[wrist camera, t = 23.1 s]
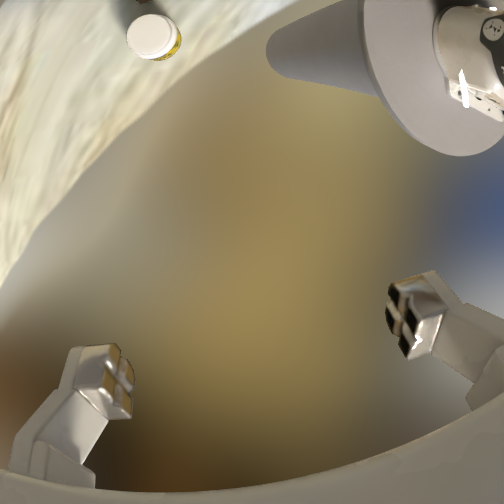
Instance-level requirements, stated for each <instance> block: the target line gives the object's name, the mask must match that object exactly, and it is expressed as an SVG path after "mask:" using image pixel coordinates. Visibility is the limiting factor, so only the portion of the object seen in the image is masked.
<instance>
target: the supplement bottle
mask: <svg viewBox="0 0 504 504" xmlns="http://www.w3.org/2000/svg"><path fill="white" fill-rule="evenodd" d="M126 40H127V44H128V46H129V47H130V49H131V51H132V52H133V53H134V54H135V55H136V56H138V57H140V58H143V59H148V60H154V61H161V60H165V59H168V58H170V57H171V56H173V55H174V54H175V53H176V52H177V50H178V49H179V47H180V45H181V34H180V32H179V30H178V28H177V27H176V25H175V24H174V22H173V21H172V20H171V19H169V18H168V17H166V16H163V15H158V14H147V15H143V16H141V17H139V18H137V19H136V20H134V21H133V22H132V23H131V25H130V26H129V28H128V30H127V34H126Z"/></svg>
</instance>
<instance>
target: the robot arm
mask: <svg viewBox="0 0 504 504" xmlns="http://www.w3.org/2000/svg"><path fill="white" fill-rule="evenodd" d="M433 45H434V51H435V55H436V58H437V61H438V63H439V65H440V68H441V70H442V72H443V75H444V80H445V88H446V92H447V95H448V96H449V97H451V98H453V99H455V100H457V101H459V102H461V103H464V106H465V107H469V106H470V107H472V108H474V109H476V110H478V111H480V112H482V113H484V114H485V115H487V116H489V117H491V118H493V119H495V120H497V121H500V122H503V121H504V11H502V10H496V8H494V7H490V9H489V8H483V7H482V6H481V5H480V4H476V3H472V4H469V5H467V6H459V5H451V6H448V7H445V8H444V9H443V10H441V11H440V13H439V14H438V16H437V18H436V20H435V23H434V27H433ZM458 92H459V93H458ZM388 295H389V296H390V298H391V299H390V300H389V301H388V303H387V304H386V310H385V315H386V321H387V324H388V327H389V329H390V331H391V332H392V334H394V335H396V336H398V337H400V338H399V343H398V345H399V347H400V349H401V351H402V352H403V354H404V356H405V358H406V360H411V359H413V358H416V357H419V356H422V355H425V354H427V353H430V352H431V354H432V355H433V356H435V357H436V358H438V359H439V360H441V361H442V362H444V363H445V364H447V365H448V366H450V367H451V368H453V369H454V370H455V371H457V372H459V373H460V374H461V375H463V376H464V377H466V378H467V379H469V380H470V381H472V382H473V383H474V385H473V386H472V388H471V389H470V390H469V392H468V393H467V396H466V401H467V403H468V404H469V406H470V408H471V410H472V412H470V413H469V414H467V415H465V416H463V417H461V418H459V419H458V420H456V421H454V422H452V423H450V424H448V425H446V426H444V427H442V428H440V429H438V430H436V431H434V432H432V433H429V434H427V435H425V436H423V437H421V438H418V439H416V440H414V441H412V442H409V443H407V444H404V445H402V446H400V447H397V448H395V449H392V450H389V451H387V452H384V453H381V454H379V455H376V456H373V457H370V458H367V459H364V460H361V461H358V462H355V463H352V464H349V465H346V466H343V467H339V468H335V469H332V470H328V471H325V472H321V473H317V474H313V475H309V476H304V477H301V478H295V479H291V480H286V481H281V482H275V483H269V484H264V485H257V486H250V487H244V488H235V489H226V490H216V491H202V492H182V493H181V492H180V493H145V492H125V491H111V490H101V489H95V474H94V472H93V471H91V470H90V469H88V468H86V467H85V466H83V465H82V464H83V462H84V461H85V459H86V457H87V456H88V454H89V452H90V451H91V449H92V447H93V445H94V443H95V442H96V441H97V439H98V437H99V436H100V434H101V432H102V431H103V429H104V428H105V426H106V424H107V423H108V420H112V419H128V418H131V415H132V404H133V399H132V398H131V396H130V395H129V394H130V393H131V392H132V390H133V389H134V386H135V376H134V370H133V368H132V366H131V364H130V362H129V361H128V359H126V358H124V357H122V356H120V354H121V350H120V348H119V347H118V346H117V344H115V343H110V344H100V345H89V346H82V347H73V348H72V349H71V350H70V352H69V355H68V358H67V361H66V365H65V368H64V371H63V375H62V378H61V382H60V385H59V389H58V390H54V391H53V392H52V393H51V395H50V396H49V397H48V398H47V399H46V400H45V402H44V403H43V404H42V405H41V406H40V407H39V408H38V409H37V411H36V412H35V413H34V414H33V415H32V416H31V418H30V419H29V420H28V421H27V422H26V424H25V425H24V426H23V427H22V428H21V429H20V431H19V432H18V433H17V434H16V436H15V438H14V443H13V447H12V452H11V457H10V462H9V467H8V471H5V470H2V469H0V504H504V319H502V318H499V317H497V316H495V315H493V314H491V313H489V312H486V311H484V310H482V309H480V308H478V307H475V306H473V305H471V304H469V303H465V304H463V303H462V302H461V301H460V299H459V298H458V297H457V296H456V295H455V293H454V292H453V291H452V290H451V288H450V287H449V286H448V285H447V284H446V283H445V281H444V280H443V279H442V278H441V276H440V275H439V274H438V273H437V272H435V271H433V270H432V271H429V272H426V273H423V274H420V275H416V276H414V277H410V278H407V279H404V280H400V281H397V282H394V283H391V284H390V286H389V290H388Z"/></svg>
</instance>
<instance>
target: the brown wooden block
mask: <svg viewBox="0 0 504 504" xmlns="http://www.w3.org/2000/svg"><path fill="white" fill-rule="evenodd" d="M136 1H137V2H138V3H139V4H142V3H146V2H149V1H152V0H136Z"/></svg>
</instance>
